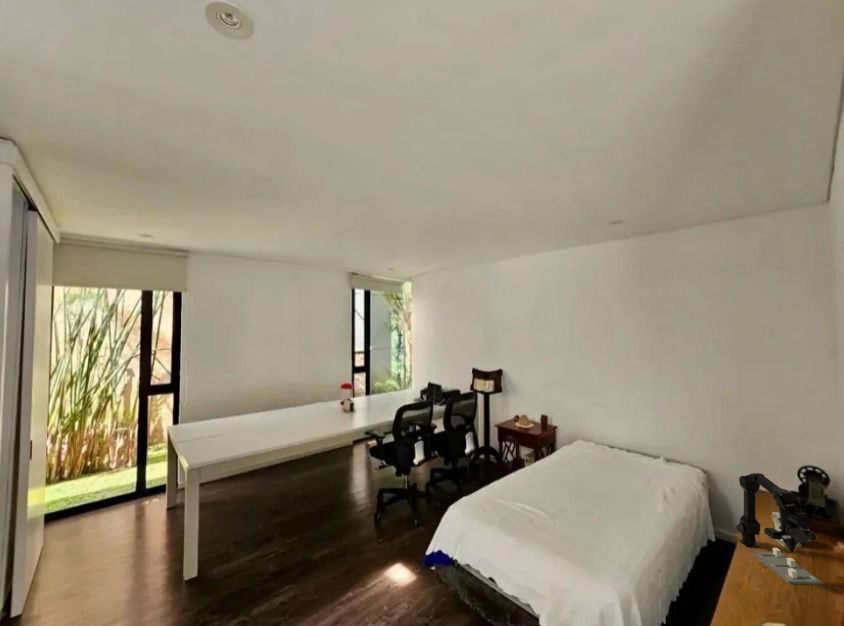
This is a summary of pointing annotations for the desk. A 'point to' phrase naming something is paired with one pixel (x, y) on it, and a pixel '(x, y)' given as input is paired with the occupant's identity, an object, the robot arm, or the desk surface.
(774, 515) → the circuit breaker
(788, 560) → the handle middle
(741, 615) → the desk surface
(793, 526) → the robot arm
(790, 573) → the handle
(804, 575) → the plate
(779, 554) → the handle left
